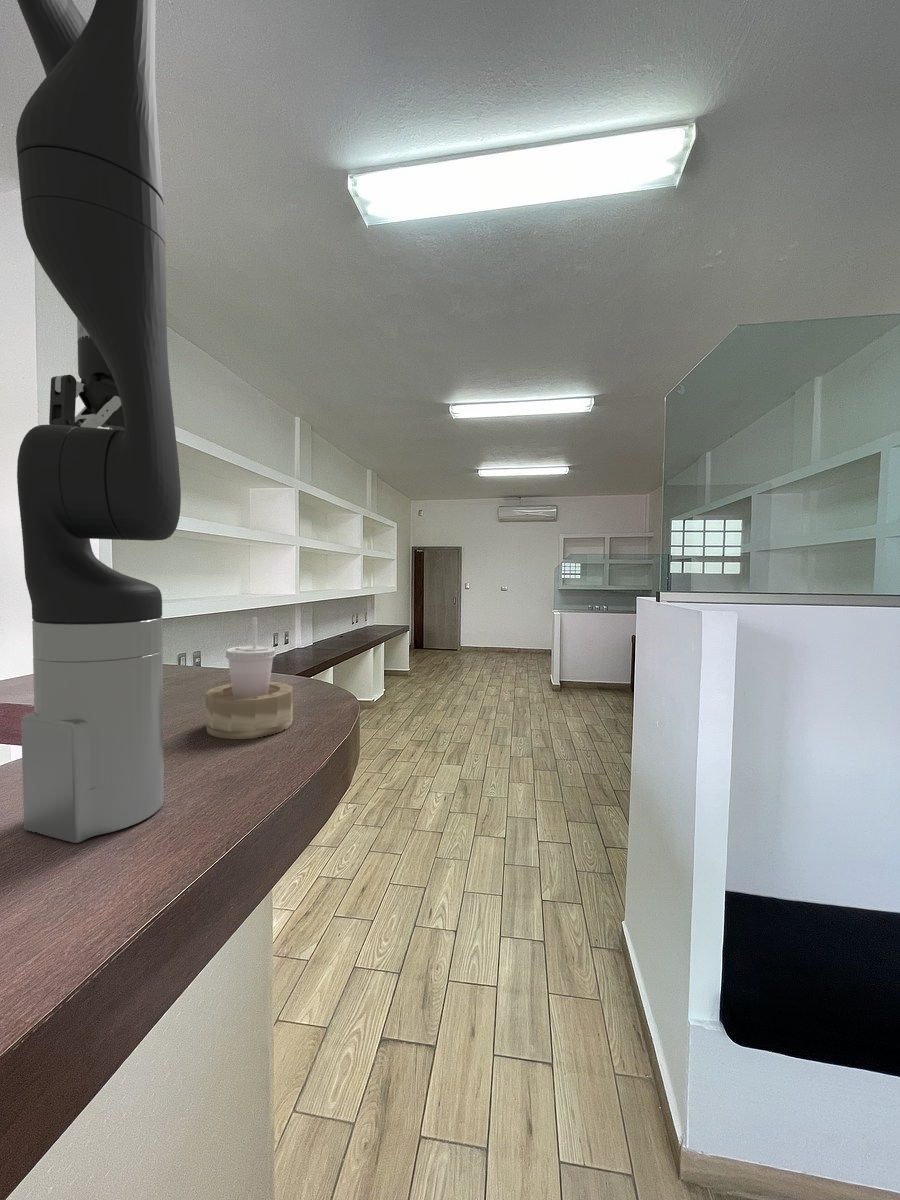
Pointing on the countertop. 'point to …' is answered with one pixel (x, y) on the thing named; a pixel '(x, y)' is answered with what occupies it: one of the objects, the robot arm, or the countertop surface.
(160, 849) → the countertop surface
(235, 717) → the ring
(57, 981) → the countertop surface
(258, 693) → the smoothie
